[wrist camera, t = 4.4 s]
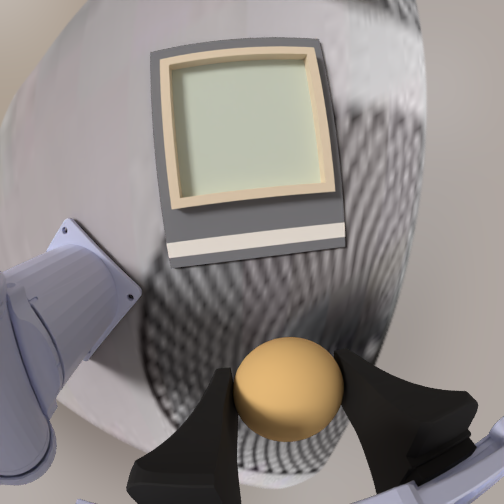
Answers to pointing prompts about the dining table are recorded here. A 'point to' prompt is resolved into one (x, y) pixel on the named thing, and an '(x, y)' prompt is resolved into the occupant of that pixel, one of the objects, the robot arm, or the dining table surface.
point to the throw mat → (245, 150)
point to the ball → (288, 389)
